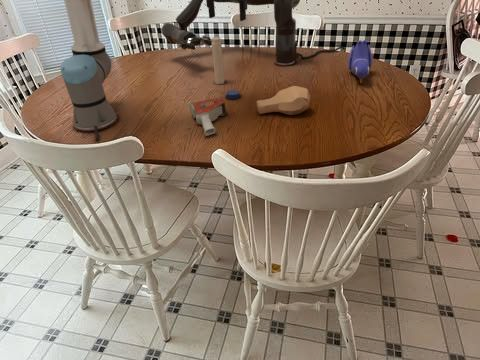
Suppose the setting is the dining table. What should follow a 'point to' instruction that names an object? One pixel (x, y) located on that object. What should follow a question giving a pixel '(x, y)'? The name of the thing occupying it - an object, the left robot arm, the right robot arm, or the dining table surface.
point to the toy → (360, 59)
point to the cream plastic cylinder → (218, 60)
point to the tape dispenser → (207, 113)
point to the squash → (286, 101)
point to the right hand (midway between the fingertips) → (202, 45)
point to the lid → (232, 94)
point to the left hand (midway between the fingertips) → (227, 18)
